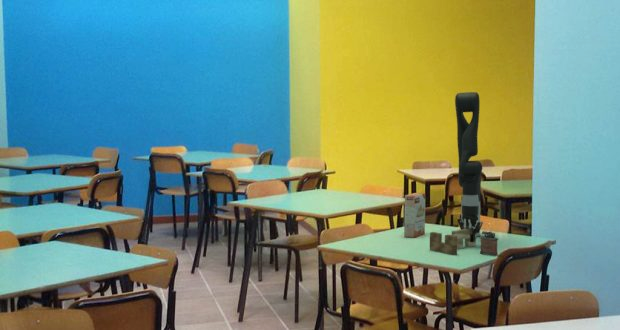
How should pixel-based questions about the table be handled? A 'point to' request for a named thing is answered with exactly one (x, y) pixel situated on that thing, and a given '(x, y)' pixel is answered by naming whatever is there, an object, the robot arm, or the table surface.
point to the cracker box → (414, 215)
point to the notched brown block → (439, 246)
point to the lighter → (488, 244)
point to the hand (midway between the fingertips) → (469, 241)
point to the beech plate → (463, 235)
